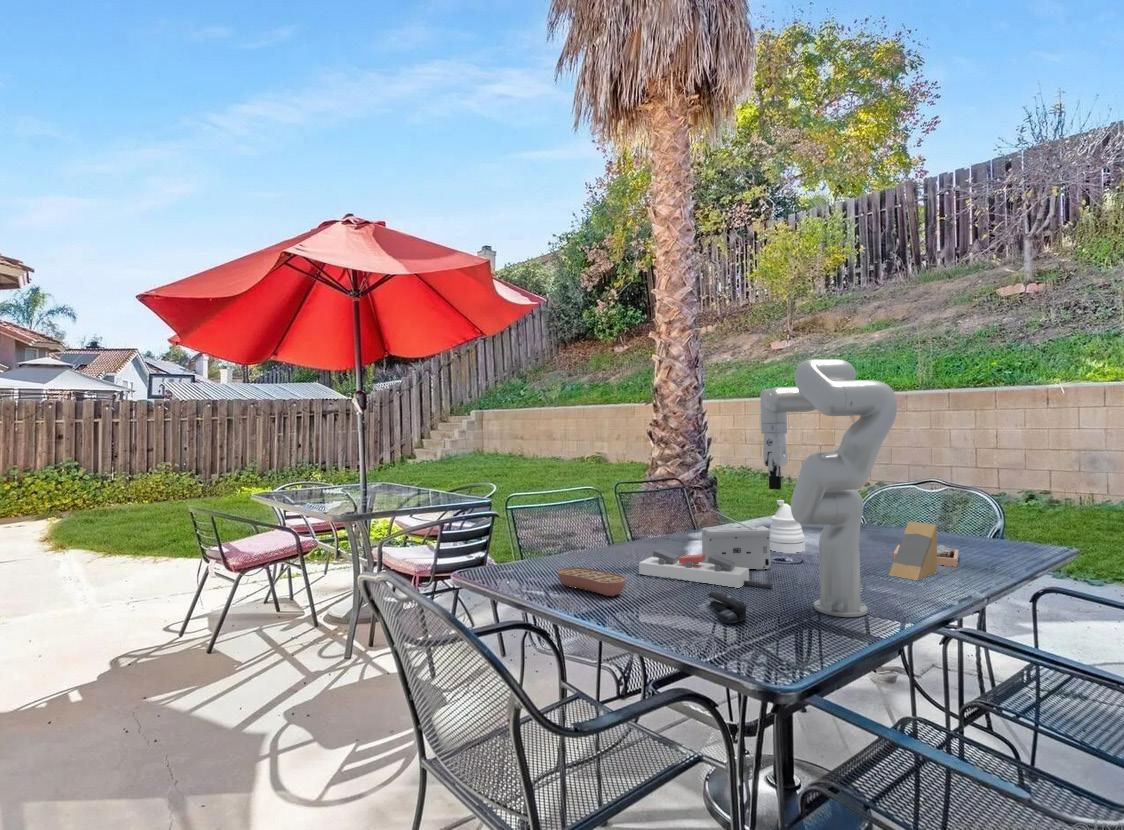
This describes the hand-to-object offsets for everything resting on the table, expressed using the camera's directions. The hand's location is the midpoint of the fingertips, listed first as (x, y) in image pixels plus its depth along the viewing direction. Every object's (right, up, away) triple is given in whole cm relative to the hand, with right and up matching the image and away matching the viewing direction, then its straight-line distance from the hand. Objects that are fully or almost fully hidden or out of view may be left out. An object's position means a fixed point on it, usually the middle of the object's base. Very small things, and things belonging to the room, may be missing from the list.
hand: (775, 488), depth 196 cm
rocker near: (-17, -22, -4) cm, 29 cm away
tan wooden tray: (+57, -26, +19) cm, 65 cm away
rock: (+59, -26, +19) cm, 67 cm away
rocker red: (-25, -23, +1) cm, 34 cm away
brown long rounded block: (-56, -29, -9) cm, 64 cm away
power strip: (-22, -28, -1) cm, 35 cm away
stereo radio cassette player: (-8, -28, +12) cm, 31 cm away
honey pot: (+17, -27, +38) cm, 49 cm away
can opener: (-24, -29, -33) cm, 50 cm away
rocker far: (-33, -23, +6) cm, 40 cm away
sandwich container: (+42, -27, 0) cm, 50 cm away
